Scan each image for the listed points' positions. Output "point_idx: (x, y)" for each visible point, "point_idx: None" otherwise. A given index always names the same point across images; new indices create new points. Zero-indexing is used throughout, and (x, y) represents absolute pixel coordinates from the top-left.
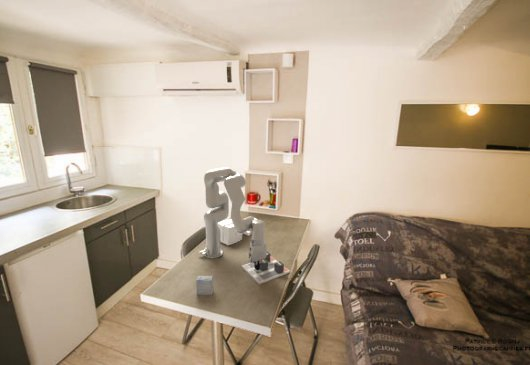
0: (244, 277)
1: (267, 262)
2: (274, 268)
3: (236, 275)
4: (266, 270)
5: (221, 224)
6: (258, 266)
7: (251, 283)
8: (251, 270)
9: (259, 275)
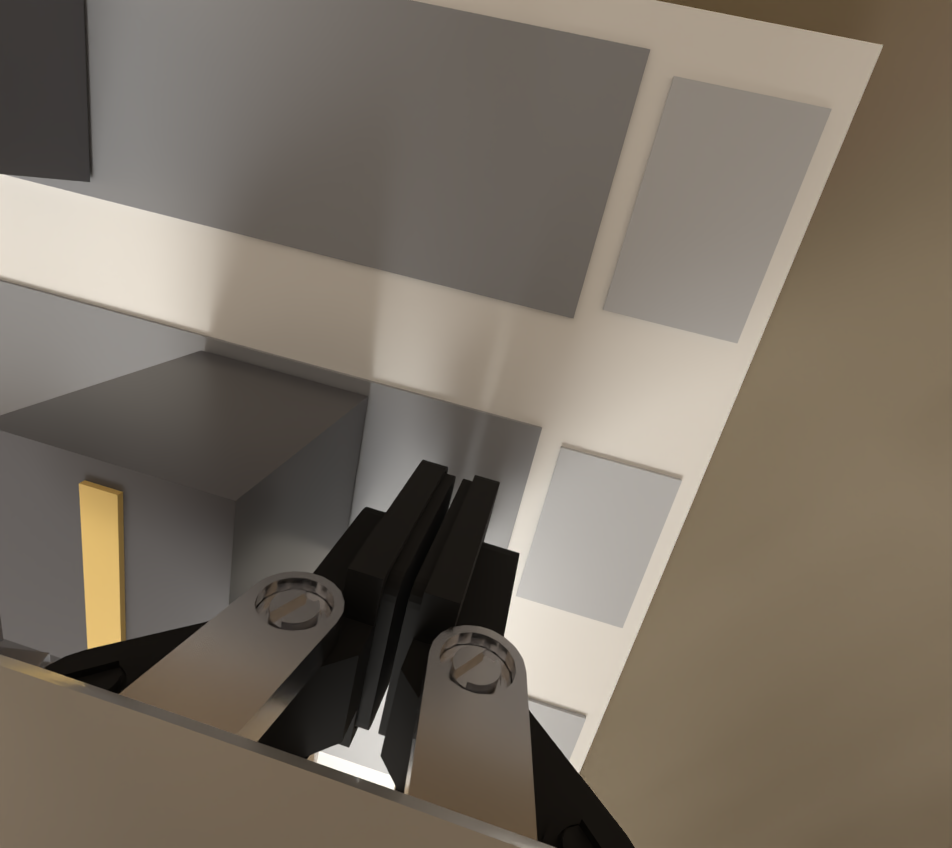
0: (819, 574)
1: (19, 425)
2: (26, 166)
3: (870, 736)
4: (256, 347)
5: None
6: (425, 537)
7: (943, 275)
8: (541, 610)
9: (557, 325)
